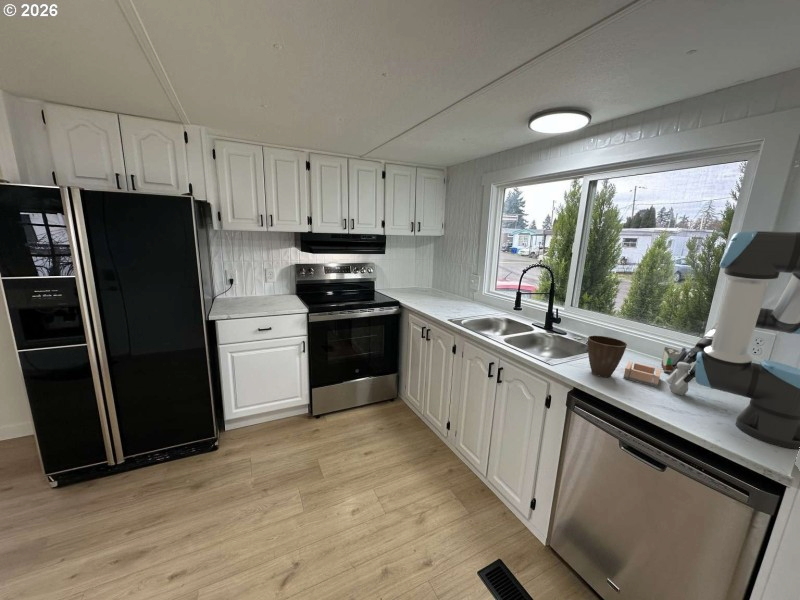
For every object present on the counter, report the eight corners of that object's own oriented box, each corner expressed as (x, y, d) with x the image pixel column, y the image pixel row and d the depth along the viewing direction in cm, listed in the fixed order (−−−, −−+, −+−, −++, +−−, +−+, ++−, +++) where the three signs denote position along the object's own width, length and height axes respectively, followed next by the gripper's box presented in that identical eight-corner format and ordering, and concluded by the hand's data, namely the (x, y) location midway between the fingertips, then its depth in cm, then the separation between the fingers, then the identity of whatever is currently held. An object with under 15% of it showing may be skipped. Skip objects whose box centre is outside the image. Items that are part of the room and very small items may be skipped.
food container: (681, 377, 146) (686, 356, 144) (664, 373, 150) (669, 353, 148) (676, 368, 157) (680, 349, 155) (660, 365, 160) (664, 346, 158)
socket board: (657, 387, 135) (659, 376, 134) (623, 378, 142) (625, 368, 142) (659, 378, 144) (661, 368, 143) (627, 370, 151) (629, 361, 150)
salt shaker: (665, 390, 132) (672, 361, 129) (672, 388, 134) (679, 359, 132) (682, 397, 127) (690, 366, 124) (689, 394, 129) (697, 364, 127)
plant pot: (575, 366, 153) (580, 334, 150) (605, 367, 154) (611, 335, 150) (595, 380, 138) (601, 345, 135) (628, 381, 139) (635, 346, 136)
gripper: (740, 356, 123) (698, 399, 122) (694, 343, 138) (656, 380, 138) (734, 344, 121) (690, 387, 120) (687, 331, 136) (649, 370, 135)
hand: (672, 384), depth 129 cm, fingers closed on salt shaker, 3 cm apart
